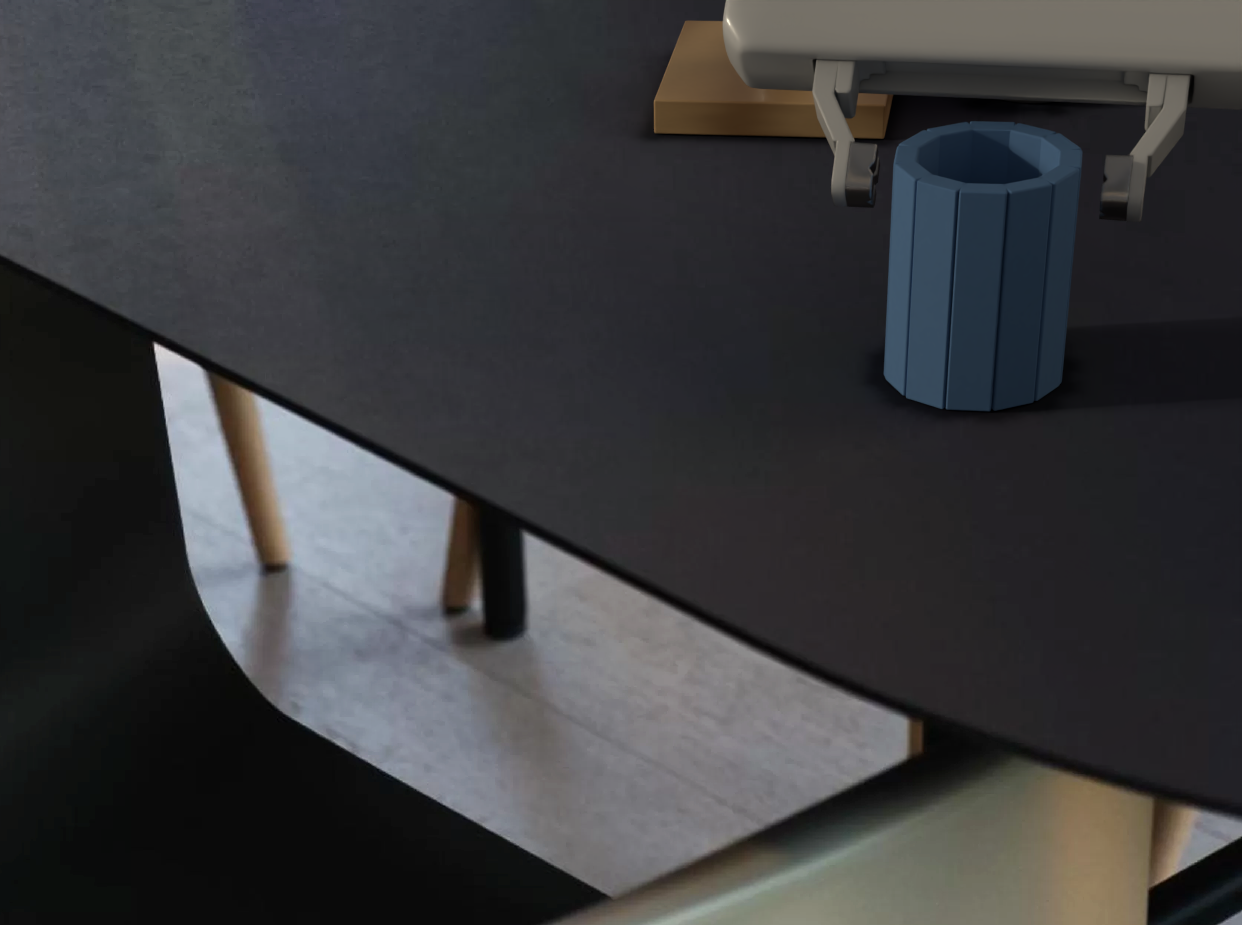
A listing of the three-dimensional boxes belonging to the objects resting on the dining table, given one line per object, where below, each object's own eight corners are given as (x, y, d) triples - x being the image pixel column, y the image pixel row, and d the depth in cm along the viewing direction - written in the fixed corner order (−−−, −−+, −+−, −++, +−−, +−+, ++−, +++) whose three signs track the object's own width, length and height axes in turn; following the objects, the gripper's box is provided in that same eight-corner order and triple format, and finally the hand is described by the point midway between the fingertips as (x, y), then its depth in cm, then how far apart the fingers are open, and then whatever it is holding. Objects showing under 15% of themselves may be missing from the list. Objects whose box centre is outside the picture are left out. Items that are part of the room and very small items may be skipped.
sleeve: (1064, 336, 99) (1084, 123, 94) (1059, 415, 95) (1079, 194, 89) (892, 330, 100) (902, 119, 95) (878, 407, 96) (887, 189, 91)
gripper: (736, -222, 94) (684, 156, 94) (1333, -211, 90) (1284, 185, 89) (755, -128, 101) (707, 228, 100) (1315, -113, 96) (1269, 258, 96)
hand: (984, 208), depth 95 cm, fingers open, 8 cm apart
